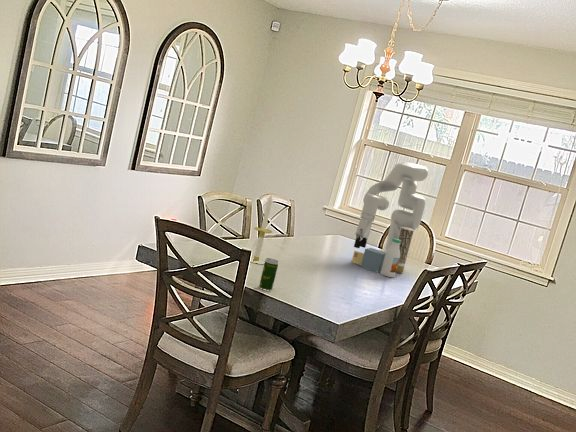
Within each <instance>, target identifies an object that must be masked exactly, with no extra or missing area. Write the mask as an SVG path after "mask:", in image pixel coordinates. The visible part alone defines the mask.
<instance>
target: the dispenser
mask: <svg viewBox="0 0 576 432" xmlns="http://www.w3.org/2000/svg"><path fill="white" fill-rule="evenodd" d="M363 253H364V255H363V259H362V263H361V265H360V267H361V268H362V269H366V270H368V271H369V270H370V271H373V272H376V273H381V269H382V265H383V262H384V258H385V254H386V252H384V250H383V251H382V250H379V249H376V248H373V247H368V248H364V252H363Z"/></svg>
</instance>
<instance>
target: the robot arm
mask: <svg viewBox="0 0 576 432" xmlns="http://www.w3.org/2000/svg"><path fill="white" fill-rule="evenodd" d="M428 174H429V170H428V168H427V167H426V166H423V165H420V164H416V163H413V162H412V163H411V162H408V161H407V162H406V161H405V162H404V161H403V162H400V163H397V164H395V165H394V167H393V168H391V170H390V172H389V173H388V175H387V176H386V178H385V179H384V180H380V181H379V182H377V183H374V184H373V185H371V186H370V187H369V188H368V190H367V191H366V193H365V194H364V197H363V207H362V209H361V214H360V218H359V219H360V220H359V222H358V225H357V228H356V231H355V236H356V238H355V241H354V245H353V248H356V249H360V247H362V248H364V249H366V246H367V241H368V238H369V236H370V233H371V229H372V225H373V222H374V221H375V217H376V214H377V210H379V211H386V210H387V209H388V208H389V207H390V206H389V205H390V201H389V199H388V198H387V197H385V196H383V195H382V196H381V195H380V193H386V192H392V191H393V192H394V191H396V190H398V188H399V187H400V185H401V189H400V192H399V196H398V200H397V201H398V202H397V205H398V206H399V207H400V208H402V209H395V210H393V211H392V213H391V216H390V223H389V229H388V234H387V238H386V242H385V245H384V249H383V252H387V250H388V249H389V247H390V246H391V244H392V239H393V238H395V239H399V236H400V232H401V228H402V227H407V228H411V229H413V230H414V231H416V230H418V229H419V227H420V226H421V222H422V219H423V214H424V211H425V206H426V199H425V198H424V197H423V196H421V195H418V194H416V192H417V187H418V184H417V182H423V181H425V180H426V179H427V177H428ZM378 194H379V195H378ZM403 209H406V210H409V211H406V210H403ZM410 211H412V212H410Z"/></svg>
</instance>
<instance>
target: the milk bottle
mask: <svg viewBox="0 0 576 432" xmlns="http://www.w3.org/2000/svg"><path fill="white" fill-rule="evenodd" d="M400 243H401V240H399V239H395V238H393V239H392V244H391V246H390V247H389V249H388V250H387V252H386V254H385V258H384V262H383V265H382V269H381V271H380V275H382V276H384V277H389V278H396V277H395V276H396V270H397V267H398V263H399V259H400V249H399V245H400Z"/></svg>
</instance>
